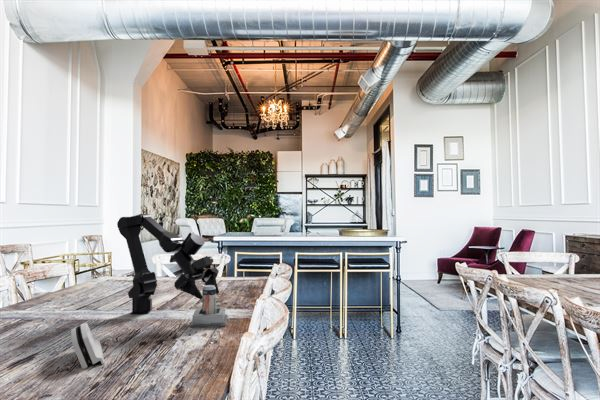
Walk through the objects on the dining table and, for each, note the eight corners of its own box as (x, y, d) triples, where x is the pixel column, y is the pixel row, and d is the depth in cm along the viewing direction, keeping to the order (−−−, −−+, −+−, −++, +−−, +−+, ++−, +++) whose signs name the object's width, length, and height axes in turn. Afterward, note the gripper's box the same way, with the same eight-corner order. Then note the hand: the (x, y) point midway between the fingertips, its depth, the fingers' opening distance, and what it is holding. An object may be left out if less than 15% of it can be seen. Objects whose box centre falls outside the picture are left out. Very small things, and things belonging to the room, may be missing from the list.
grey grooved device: (104, 364, 98) (90, 330, 97) (84, 374, 96) (69, 339, 95) (101, 345, 113) (88, 315, 111) (84, 353, 110) (71, 323, 109)
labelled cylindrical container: (200, 318, 137) (200, 285, 137) (213, 316, 139) (213, 284, 140) (204, 322, 133) (204, 287, 133) (217, 320, 135) (217, 286, 136)
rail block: (189, 328, 129) (189, 316, 129) (194, 318, 141) (194, 307, 141) (225, 326, 131) (225, 314, 131) (227, 317, 143) (227, 306, 143)
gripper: (180, 251, 130) (206, 285, 125) (215, 246, 147) (238, 277, 142) (163, 272, 134) (187, 307, 129) (198, 265, 150) (221, 296, 145)
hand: (210, 295), depth 136 cm, fingers open, 9 cm apart
